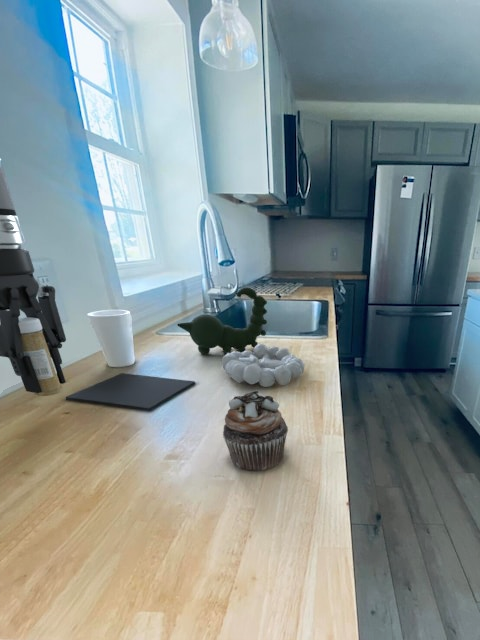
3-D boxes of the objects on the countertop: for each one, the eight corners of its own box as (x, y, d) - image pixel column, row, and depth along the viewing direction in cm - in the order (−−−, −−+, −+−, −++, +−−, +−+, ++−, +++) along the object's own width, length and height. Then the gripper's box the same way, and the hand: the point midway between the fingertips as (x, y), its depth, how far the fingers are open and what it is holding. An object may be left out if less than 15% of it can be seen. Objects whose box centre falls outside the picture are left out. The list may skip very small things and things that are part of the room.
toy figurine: (259, 349, 118) (177, 350, 107) (260, 287, 110) (172, 281, 99) (269, 357, 111) (181, 359, 100) (271, 290, 103) (176, 284, 92)
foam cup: (93, 366, 95) (78, 314, 89) (121, 357, 102) (109, 308, 96) (122, 370, 92) (108, 317, 86) (148, 360, 100) (138, 311, 94)
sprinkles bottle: (66, 387, 71) (43, 316, 65) (57, 396, 67) (32, 321, 61) (39, 388, 70) (13, 316, 64) (29, 397, 66) (0, 322, 60)
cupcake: (212, 461, 55) (203, 400, 51) (256, 436, 63) (252, 381, 58) (259, 482, 51) (253, 417, 46) (301, 453, 58) (300, 394, 53)
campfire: (324, 373, 93) (324, 350, 90) (269, 398, 77) (268, 372, 75) (260, 358, 104) (258, 337, 101) (200, 378, 88) (197, 354, 85)
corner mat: (66, 399, 75) (65, 396, 75) (122, 375, 89) (121, 373, 89) (149, 411, 71) (149, 408, 71) (195, 383, 85) (195, 381, 84)
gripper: (-47, 248, 49) (17, 407, 60) (64, 246, 64) (99, 374, 75) (-88, 246, 50) (-18, 401, 61) (30, 245, 65) (69, 370, 76)
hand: (46, 386), depth 68 cm, fingers closed on sprinkles bottle, 4 cm apart
